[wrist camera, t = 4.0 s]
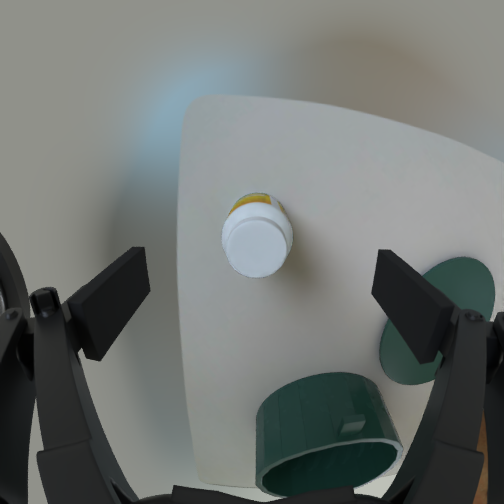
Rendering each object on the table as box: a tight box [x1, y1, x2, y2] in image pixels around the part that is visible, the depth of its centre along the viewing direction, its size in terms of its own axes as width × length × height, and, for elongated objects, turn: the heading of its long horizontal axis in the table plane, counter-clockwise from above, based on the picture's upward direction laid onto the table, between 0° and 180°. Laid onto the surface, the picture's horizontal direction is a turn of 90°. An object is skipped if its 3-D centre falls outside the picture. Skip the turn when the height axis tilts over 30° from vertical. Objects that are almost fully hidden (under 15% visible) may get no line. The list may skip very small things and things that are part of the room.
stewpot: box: [256, 372, 403, 498], centre depth 31 cm, size 20×25×12 cm
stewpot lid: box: [379, 257, 495, 385], centre depth 27 cm, size 21×21×10 cm
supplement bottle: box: [221, 193, 293, 278], centre depth 23 cm, size 5×5×10 cm
